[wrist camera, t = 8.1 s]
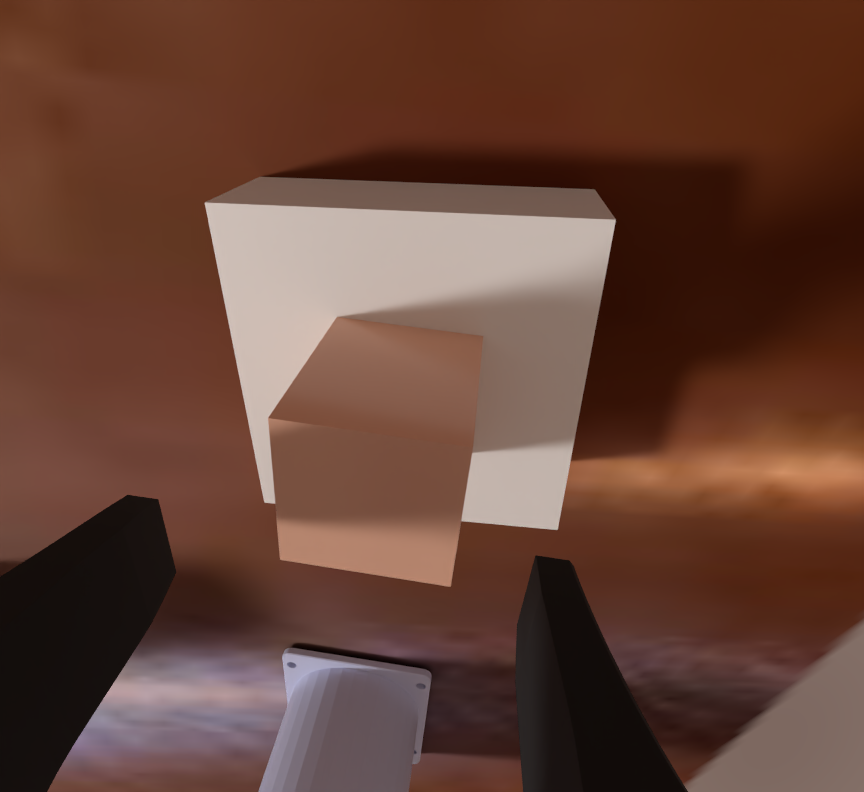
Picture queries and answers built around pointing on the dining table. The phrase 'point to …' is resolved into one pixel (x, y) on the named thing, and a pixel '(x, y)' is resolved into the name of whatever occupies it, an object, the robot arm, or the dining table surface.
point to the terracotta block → (377, 450)
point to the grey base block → (427, 306)
